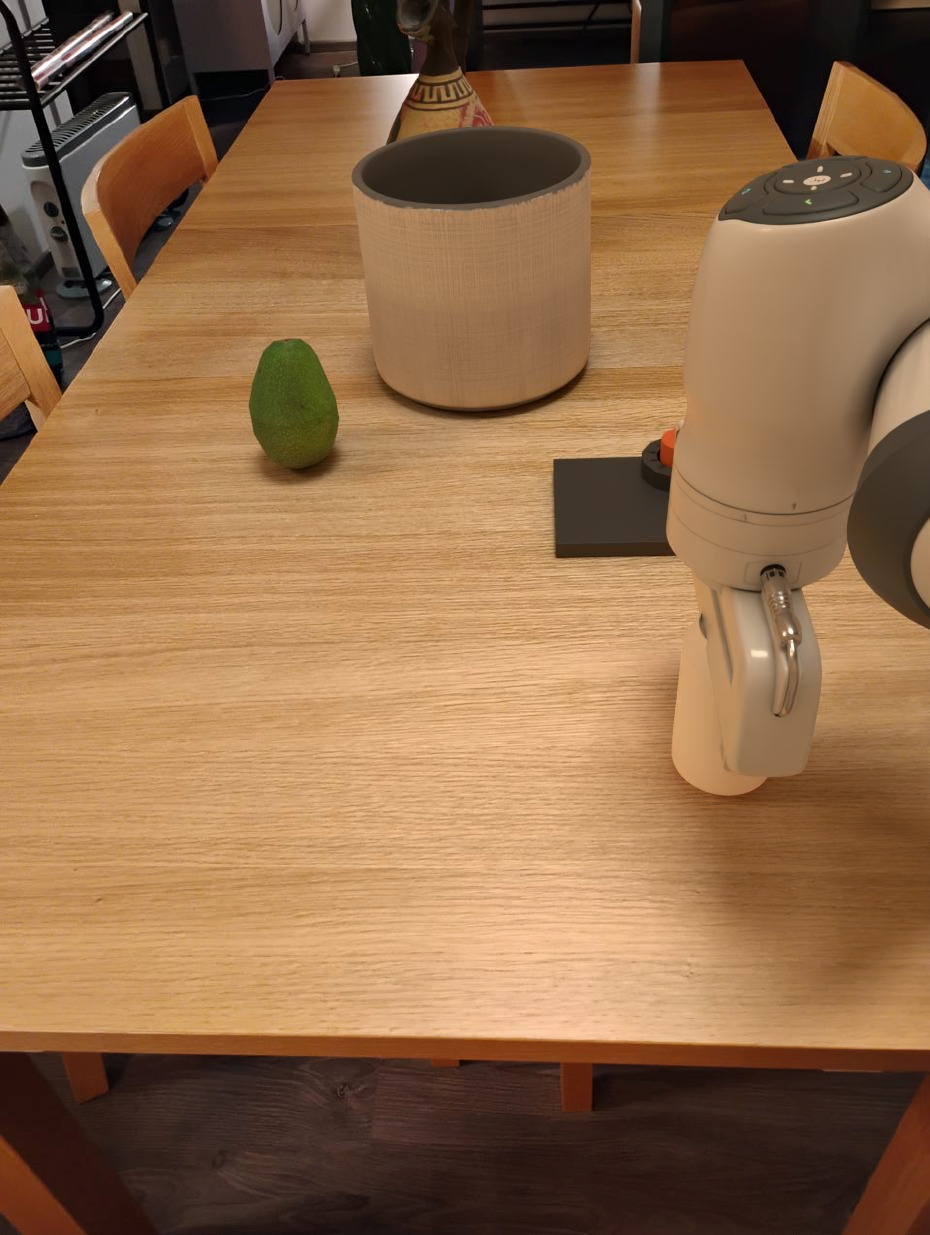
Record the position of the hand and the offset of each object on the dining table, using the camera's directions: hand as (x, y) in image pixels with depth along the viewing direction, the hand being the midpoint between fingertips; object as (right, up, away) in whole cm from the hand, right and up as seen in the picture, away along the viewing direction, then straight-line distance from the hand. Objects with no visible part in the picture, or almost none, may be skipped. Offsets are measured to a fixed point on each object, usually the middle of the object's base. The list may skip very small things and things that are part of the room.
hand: (724, 699), depth 59 cm
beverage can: (+1, -5, +4) cm, 6 cm away
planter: (-13, +31, +45) cm, 56 cm away
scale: (-1, +14, +24) cm, 28 cm away
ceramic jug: (-17, +52, +69) cm, 88 cm away
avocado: (-30, +19, +33) cm, 49 cm away
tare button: (+3, +18, +25) cm, 31 cm away
